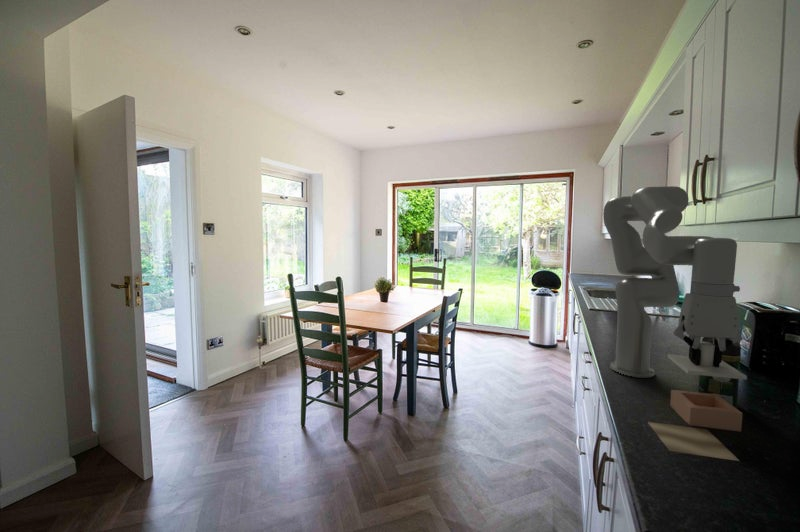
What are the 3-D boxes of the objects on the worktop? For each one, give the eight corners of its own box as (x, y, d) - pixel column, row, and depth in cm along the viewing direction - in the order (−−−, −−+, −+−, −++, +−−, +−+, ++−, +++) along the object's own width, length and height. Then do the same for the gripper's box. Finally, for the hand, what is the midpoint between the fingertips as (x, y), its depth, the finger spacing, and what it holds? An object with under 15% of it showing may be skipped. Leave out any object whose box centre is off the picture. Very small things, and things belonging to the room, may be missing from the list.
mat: (647, 424, 85) (647, 421, 85) (706, 431, 82) (706, 429, 82) (669, 453, 74) (669, 450, 73) (739, 463, 70) (740, 461, 70)
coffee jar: (696, 393, 101) (701, 330, 100) (734, 401, 96) (739, 335, 95) (697, 406, 94) (702, 338, 92) (738, 415, 89) (744, 344, 87)
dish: (670, 407, 93) (671, 389, 92) (715, 412, 90) (717, 394, 90) (689, 427, 83) (690, 407, 83) (740, 434, 81) (742, 413, 80)
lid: (667, 357, 92) (669, 335, 91) (719, 361, 89) (721, 338, 88) (687, 373, 82) (689, 349, 81) (746, 379, 78) (749, 353, 78)
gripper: (744, 288, 84) (736, 362, 86) (663, 285, 89) (658, 355, 91) (765, 294, 77) (757, 374, 79) (676, 291, 82) (670, 366, 84)
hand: (704, 363), depth 85 cm, fingers closed on lid, 3 cm apart
